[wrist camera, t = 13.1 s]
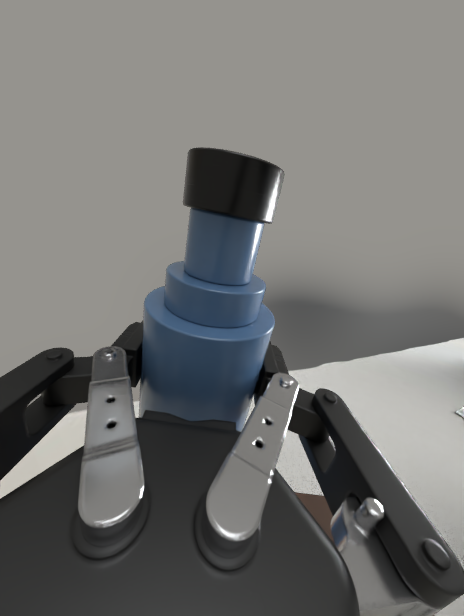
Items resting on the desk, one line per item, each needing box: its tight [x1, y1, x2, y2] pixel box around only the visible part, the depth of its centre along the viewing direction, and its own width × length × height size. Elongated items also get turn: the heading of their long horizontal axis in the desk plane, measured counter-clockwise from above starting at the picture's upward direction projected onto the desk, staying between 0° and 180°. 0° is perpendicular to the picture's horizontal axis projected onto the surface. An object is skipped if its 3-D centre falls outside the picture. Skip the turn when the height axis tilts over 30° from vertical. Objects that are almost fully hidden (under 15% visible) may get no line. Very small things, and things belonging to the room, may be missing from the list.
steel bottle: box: [139, 148, 284, 432], centre depth 13 cm, size 6×6×21 cm
